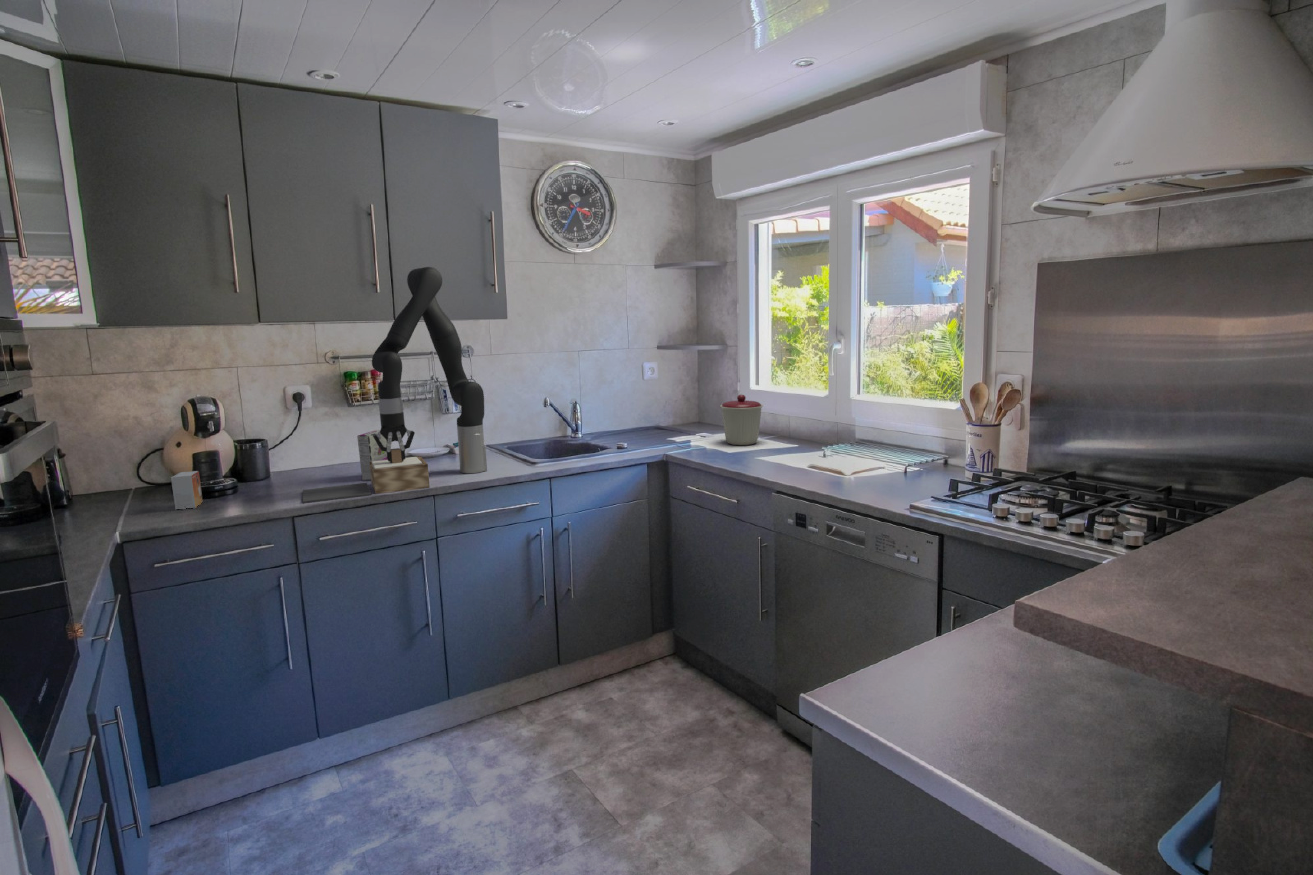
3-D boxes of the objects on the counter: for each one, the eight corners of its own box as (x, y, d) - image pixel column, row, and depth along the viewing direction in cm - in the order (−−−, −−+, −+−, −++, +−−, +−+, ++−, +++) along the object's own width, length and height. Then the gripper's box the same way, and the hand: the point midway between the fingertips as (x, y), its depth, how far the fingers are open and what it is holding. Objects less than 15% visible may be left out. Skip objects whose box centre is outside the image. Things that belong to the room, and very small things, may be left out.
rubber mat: (366, 484, 253) (366, 482, 253) (371, 495, 237) (371, 493, 237) (302, 491, 244) (302, 489, 244) (302, 503, 228) (302, 501, 228)
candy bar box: (378, 473, 270) (374, 429, 267) (390, 473, 269) (387, 430, 266) (360, 480, 259) (356, 434, 257) (373, 480, 258) (369, 435, 256)
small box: (195, 508, 225) (191, 475, 223) (175, 510, 223) (170, 477, 222) (203, 502, 233) (199, 470, 231) (183, 504, 231) (179, 471, 229)
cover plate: (416, 459, 257) (415, 444, 256) (422, 466, 245) (421, 449, 244) (372, 465, 250) (370, 448, 249) (375, 472, 239) (374, 454, 238)
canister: (770, 445, 307) (770, 395, 303) (730, 448, 302) (730, 397, 298) (751, 438, 324) (751, 391, 320) (714, 441, 319) (713, 393, 315)
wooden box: (422, 478, 260) (420, 456, 258) (429, 487, 245) (427, 464, 244) (371, 484, 252) (369, 461, 251) (375, 493, 238) (373, 469, 237)
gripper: (411, 408, 251) (416, 457, 254) (368, 412, 245) (373, 462, 248) (415, 410, 244) (419, 461, 247) (370, 414, 238) (375, 466, 241)
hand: (396, 461), depth 247 cm, fingers closed on cover plate, 3 cm apart
